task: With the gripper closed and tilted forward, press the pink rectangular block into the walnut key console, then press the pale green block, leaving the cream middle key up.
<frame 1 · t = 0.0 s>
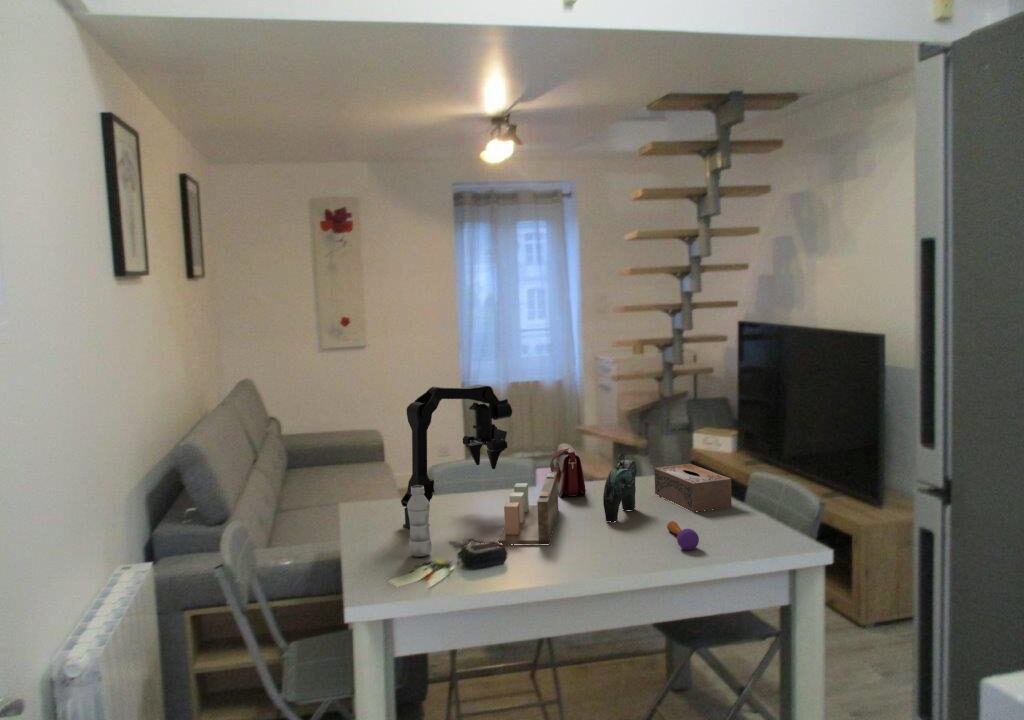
hand: (485, 466, 273), 15 cm above the table, tool pointing down, fingers open, 9 cm apart
pale green block: (521, 497, 264), point 6 cm above the table, slide at 0.0 cm
tissue box cover: (691, 502, 274), on the table
pink rectangular block: (512, 518, 240), point 6 cm above the table, slide at 0.0 cm
plastic bottle: (420, 556, 228), on the table
handbag: (567, 490, 296), on the table
cream key: (517, 507, 252), point 6 cm above the table, slide at 0.0 cm
purple maraca: (681, 542, 231), on the table
dark green arched piece: (622, 516, 260), on the table
key console: (528, 526, 252), on the table
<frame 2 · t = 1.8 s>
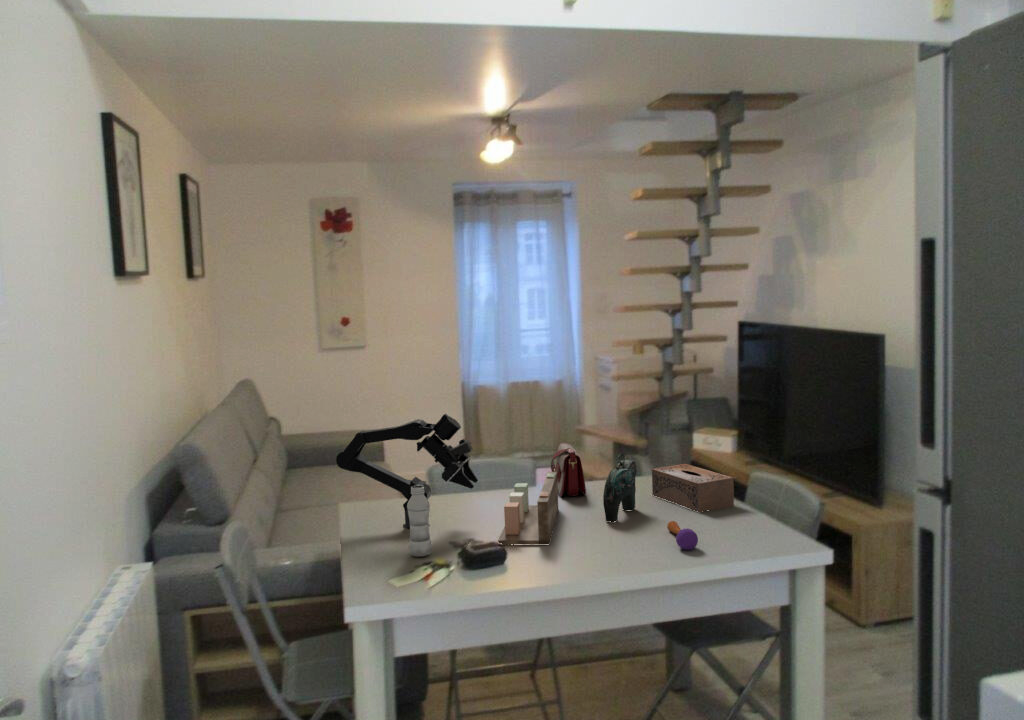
hand: (475, 484, 253), 13 cm above the table, tool tilted 45°, fingers open, 7 cm apart
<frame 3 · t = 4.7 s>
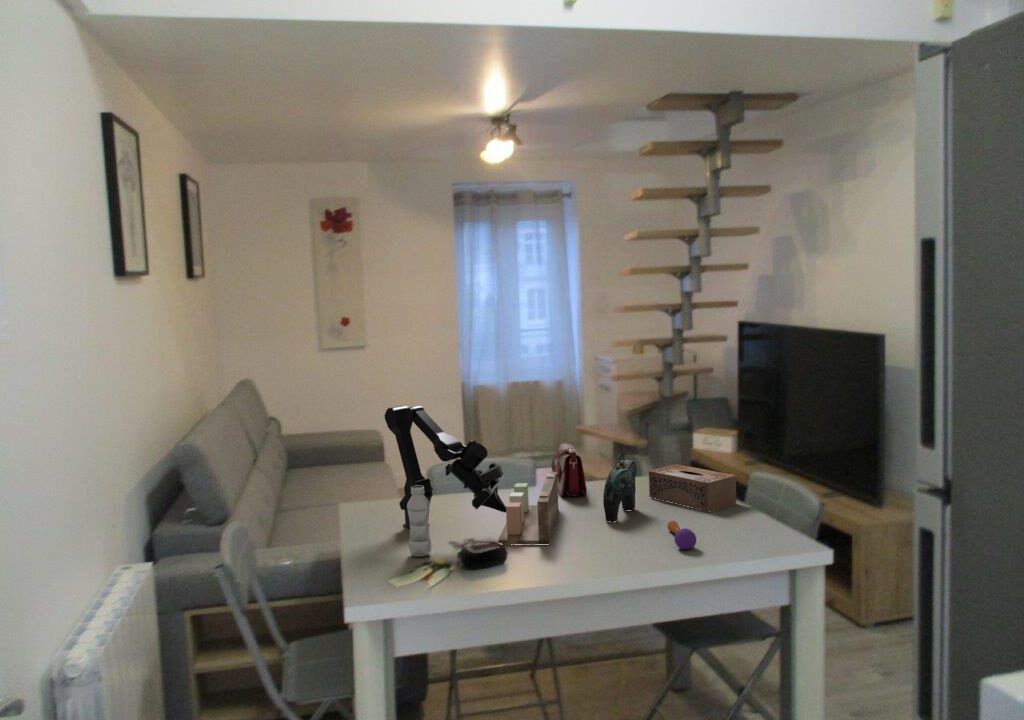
hand: (506, 511, 240), 8 cm above the table, tool tilted 45°, fingers closed, pressing on pink rectangular block
pink rectangular block: (514, 518, 240), point 6 cm above the table, slide at 0.6 cm, touching gripper
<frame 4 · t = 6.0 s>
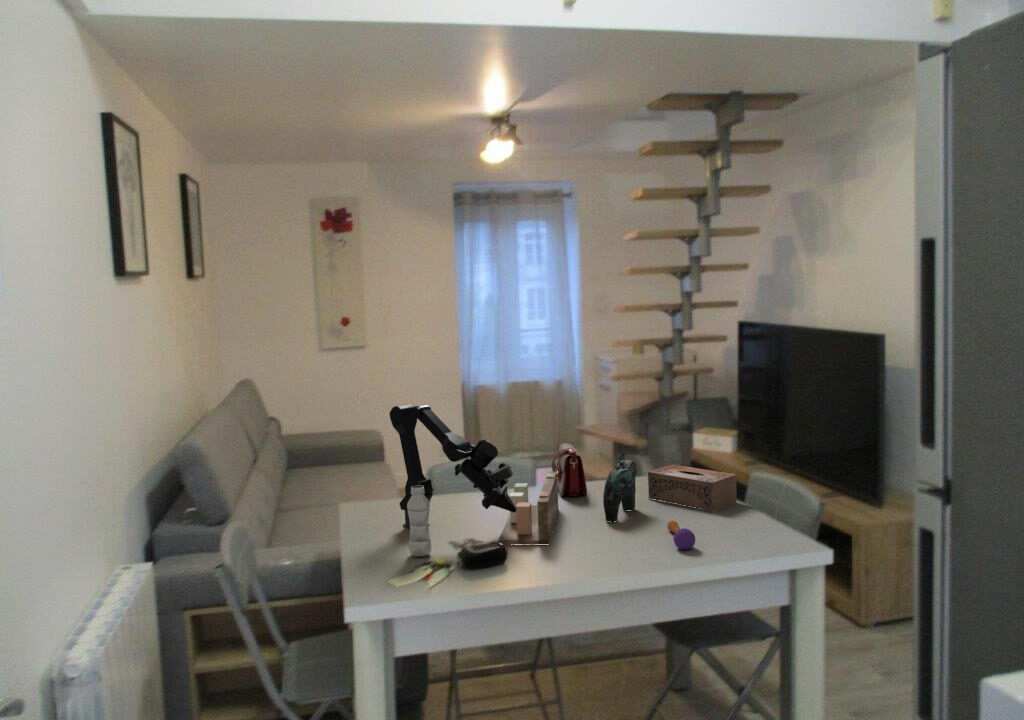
hand: (515, 511, 240), 8 cm above the table, tool tilted 45°, fingers closed
pink rectangular block: (524, 518, 240), point 6 cm above the table, slide at 3.6 cm
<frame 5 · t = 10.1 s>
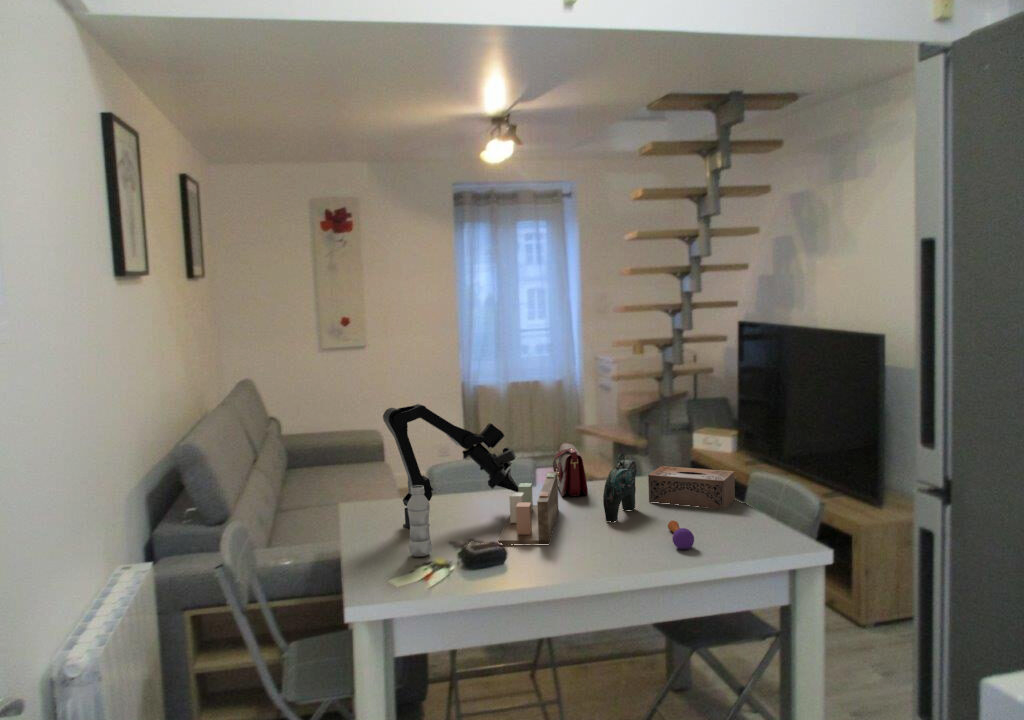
hand: (518, 491, 264), 8 cm above the table, tool tilted 45°, fingers closed, pressing on pale green block
pale green block: (525, 497, 264), point 6 cm above the table, slide at 1.4 cm, touching gripper
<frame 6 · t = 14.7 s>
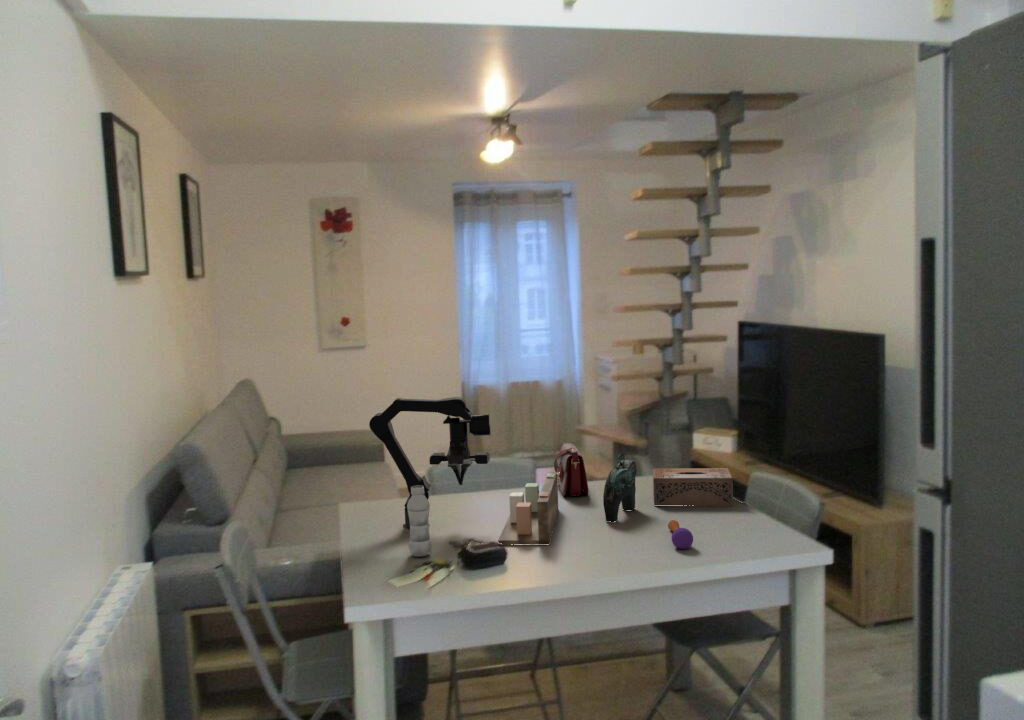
hand: (461, 484, 256), 13 cm above the table, tool pointing down, fingers closed
pale green block: (532, 497, 263), point 6 cm above the table, slide at 3.6 cm
at the end: pink rectangular block slide at 3.6 cm; pale green block slide at 3.6 cm; cream key slide at 0.0 cm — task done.
